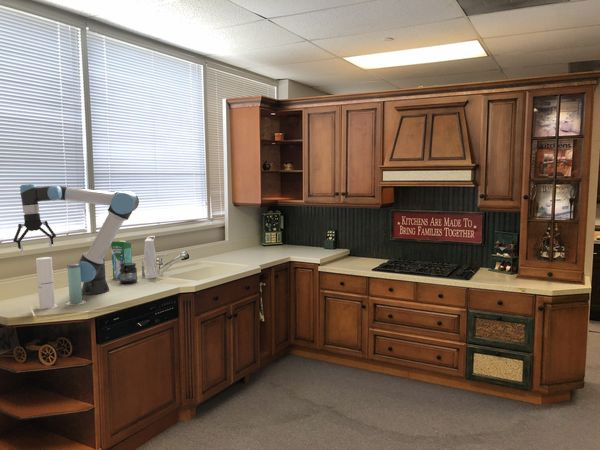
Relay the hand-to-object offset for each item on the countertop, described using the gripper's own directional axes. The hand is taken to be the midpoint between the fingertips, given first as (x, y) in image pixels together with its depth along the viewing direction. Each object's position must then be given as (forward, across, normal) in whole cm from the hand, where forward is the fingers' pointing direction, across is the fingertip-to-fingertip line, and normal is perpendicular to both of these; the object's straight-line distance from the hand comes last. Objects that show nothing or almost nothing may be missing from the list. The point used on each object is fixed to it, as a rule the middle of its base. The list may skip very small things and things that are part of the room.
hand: (37, 252), depth 263 cm
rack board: (+28, -6, +18) cm, 34 cm away
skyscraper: (+30, -67, -30) cm, 79 cm away
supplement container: (+29, -51, -24) cm, 63 cm away
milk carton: (+28, -52, -43) cm, 73 cm away
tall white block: (+27, 0, +18) cm, 32 cm away
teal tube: (+27, -13, +18) cm, 35 cm away
